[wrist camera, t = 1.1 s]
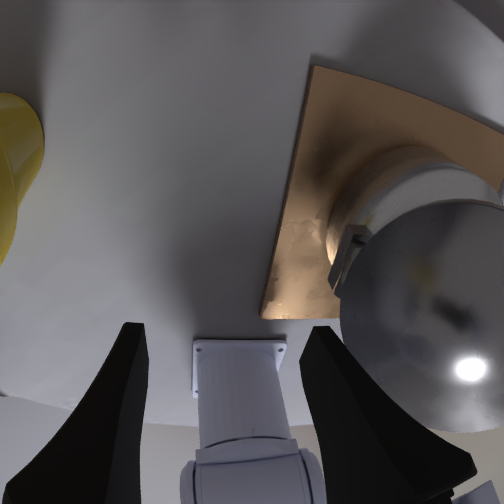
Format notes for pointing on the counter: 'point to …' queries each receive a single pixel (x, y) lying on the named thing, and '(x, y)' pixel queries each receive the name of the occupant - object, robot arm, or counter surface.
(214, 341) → the robot arm
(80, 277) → the counter surface
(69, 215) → the counter surface
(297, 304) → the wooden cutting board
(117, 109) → the counter surface
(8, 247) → the plant pot
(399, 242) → the cooker lid
